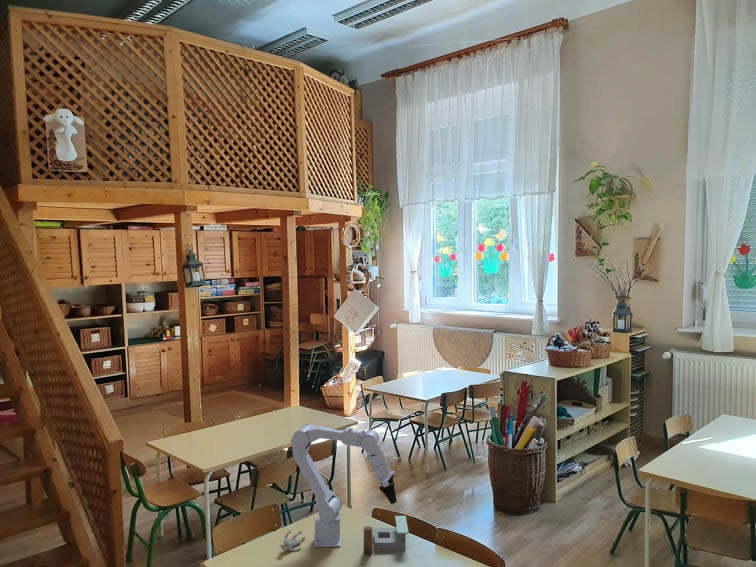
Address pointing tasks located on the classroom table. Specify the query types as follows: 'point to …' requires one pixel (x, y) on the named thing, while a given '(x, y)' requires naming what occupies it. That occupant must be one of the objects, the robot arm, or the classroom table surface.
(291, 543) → the grey branched piece
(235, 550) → the classroom table surface
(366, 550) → the peg
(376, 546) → the socket block
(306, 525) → the classroom table surface
